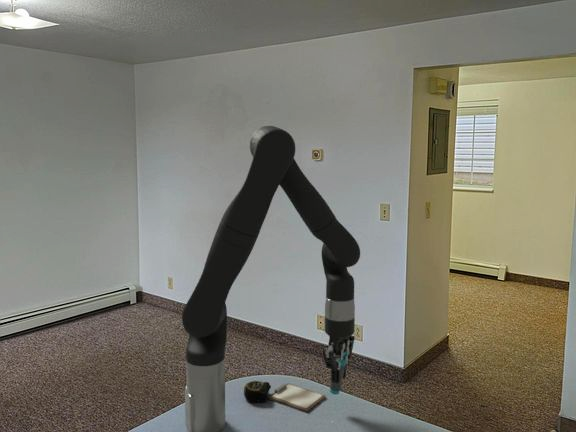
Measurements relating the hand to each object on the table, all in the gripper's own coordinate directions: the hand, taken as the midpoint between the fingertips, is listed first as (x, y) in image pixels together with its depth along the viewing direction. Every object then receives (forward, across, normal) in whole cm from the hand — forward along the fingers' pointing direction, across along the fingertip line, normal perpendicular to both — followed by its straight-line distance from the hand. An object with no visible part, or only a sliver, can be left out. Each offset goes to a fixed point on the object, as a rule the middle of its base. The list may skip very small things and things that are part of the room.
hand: (338, 379), depth 127 cm
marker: (+4, 0, +1) cm, 4 cm away
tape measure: (+9, -5, +21) cm, 24 cm away
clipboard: (+9, 0, +12) cm, 15 cm away
